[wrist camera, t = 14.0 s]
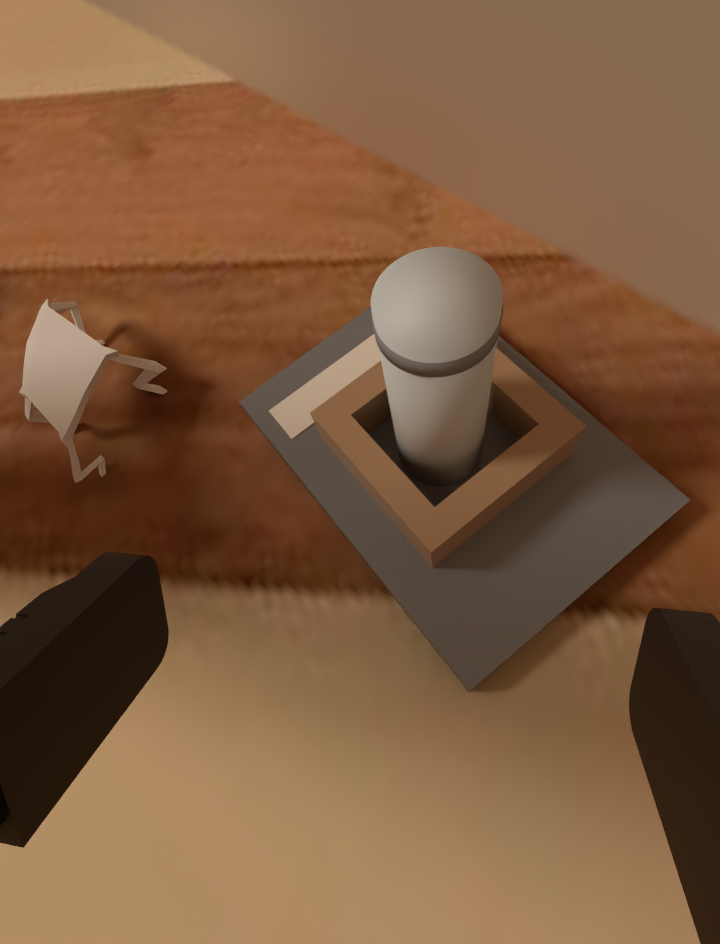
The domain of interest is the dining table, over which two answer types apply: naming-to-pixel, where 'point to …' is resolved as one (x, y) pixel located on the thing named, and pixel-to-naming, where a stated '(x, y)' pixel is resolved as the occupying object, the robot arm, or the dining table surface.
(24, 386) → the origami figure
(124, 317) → the dining table surface
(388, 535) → the assembly jig
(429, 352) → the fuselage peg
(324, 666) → the dining table surface
